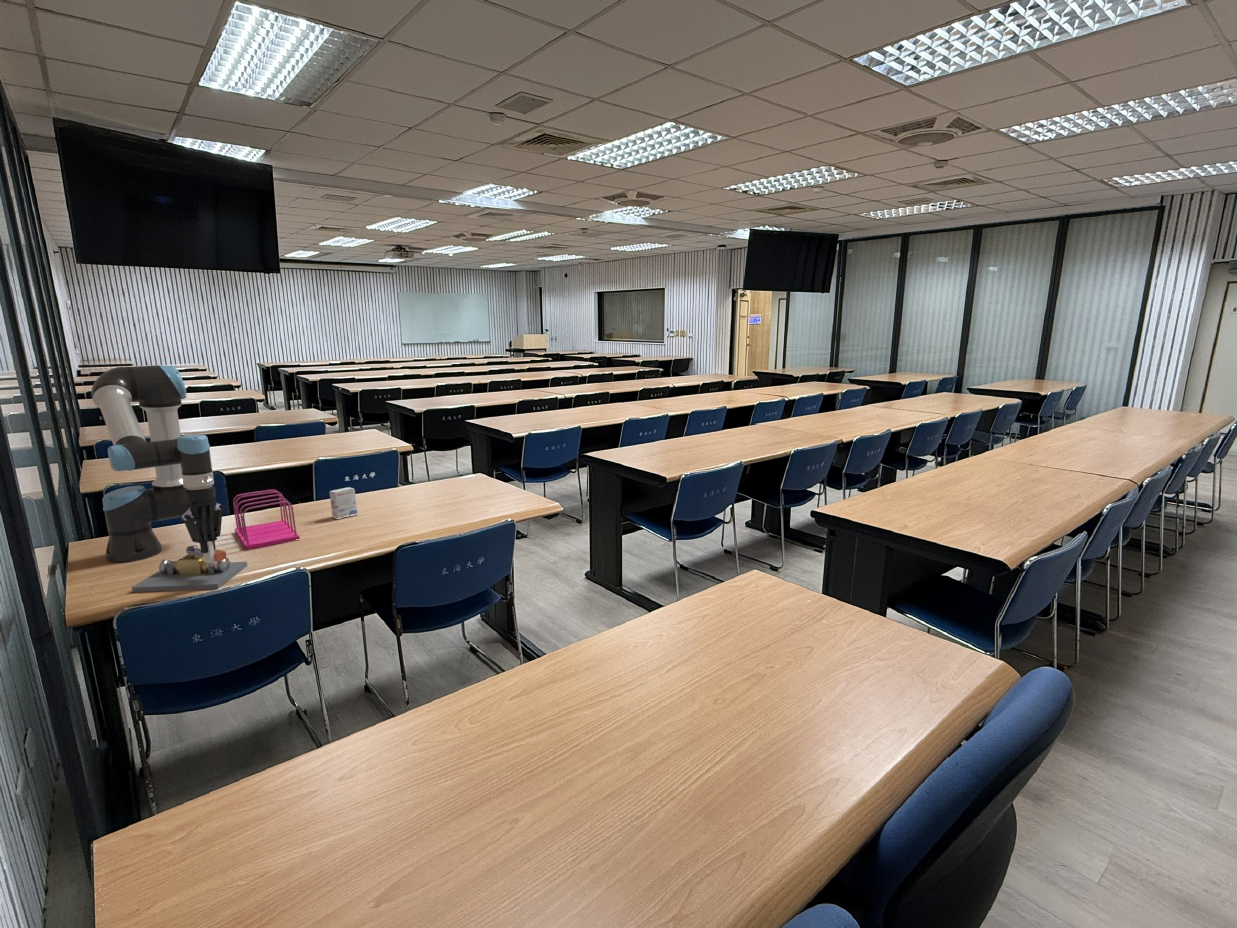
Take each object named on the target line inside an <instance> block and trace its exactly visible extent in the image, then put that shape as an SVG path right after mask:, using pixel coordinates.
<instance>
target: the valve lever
mask: <svg viewBox="0 0 1237 928" xmlns="http://www.w3.org/2000/svg"><path fill="white" fill-rule="evenodd" d="M185 551H186V552H185V553H186V554H189V556H190V557H194V556H197V555H198V556H203V557H204V554H203V553H202V552H201V548H198V545H191V546H190V545H189V546H187V547H186V549H185ZM214 555H215V561H216V562H219V561H222V560H224V559H227V558H228V557H227V552H226V551H225V550H221V549H215V550H214Z"/></svg>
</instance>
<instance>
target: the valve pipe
mask: <svg viewBox="0 0 1237 928" xmlns="http://www.w3.org/2000/svg"><path fill="white" fill-rule="evenodd" d="M230 562H231V560H230V559H229V558H228V557H227V559H224V560H222V561H219V562H213V563H207V562H205V561H204V557H203V556H198V555H197V556H194V557H190V556H189V554H188V553H186V555H184V556H183V557H181V558H179V559H178V560H173V561H172V560H170V559H162V560H161V561H160V563H159V566H158V571H160V573H161V574H167V573H168V576H169V575H175V574H176V573H177V574H180V576H182V575H201V574H203V573H208V572H209V574H215V573H216V572H217V571H220V572H225V571H226V570H228V569H229V567H230Z"/></svg>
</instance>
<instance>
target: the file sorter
mask: <svg viewBox="0 0 1237 928" xmlns="http://www.w3.org/2000/svg"><path fill="white" fill-rule="evenodd" d="M268 494H271V495H268ZM261 495H262V496H261ZM263 495H265V496H263ZM256 496H261V497H256ZM249 497H254V498H249ZM271 497H273V498H274V497H278V498H274V499H267V498H271ZM242 498H243V499H244V498H249V499H245V500H241V501H240V502H238V501H239V500H240V499H242ZM261 499H267V500H262V501H261ZM257 500H260V501H257ZM252 501H255V502H252ZM274 501H277V502H274ZM232 502H233V512H234V518H235V524H236V528H234V533H235V534H236V536H237V537H238V539H239V541H240V542H241V544H242V546H243V547H244V549H245V550H246V551H247V550H254V549H259V548H264V547H268V546H274V544H275V545H279V544H278V543H280V544H284V542H285V543H289V542H288V541H291V542H294V541H293V540H296V539H300V534H298V533H297V528H296V521H295V519H296V518H295V514H294V513H295V512H294V508H293V505H292V503H291V502H289V501H288V499H286V498H285V497H284V496H283V493H281V492H280V491H278V490H276V489H267V490H259V491H252V492H246V493H240V494H237V495H236V496H235V497H234V498H233V500H232ZM246 502H248V503H246ZM249 502H250V503H249ZM269 502H270V503H269ZM271 502H272V503H271ZM243 503H246V504H243ZM263 503H265V504H263ZM267 503H268V504H267ZM241 504H243V505H242V506H241V508H240V509H239V506H240V505H241ZM257 504H261V505H257ZM278 504H279V509H280V517H281V520H278V521H270V522H265V523H259V524H253V525H246V520H245V513H246V512H247V511H249V510H253V509H256V508H257V509H259V508H263V507H268V506H272V505H273V506H274V505H278ZM252 505H254V506H252ZM255 505H256V506H255ZM247 506H251V507H247ZM245 507H247V508H245ZM287 507H288V509H287ZM244 508H245V509H244ZM243 509H244V511H243ZM296 541H297V540H296Z"/></svg>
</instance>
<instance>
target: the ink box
mask: <svg viewBox="0 0 1237 928" xmlns="http://www.w3.org/2000/svg"><path fill="white" fill-rule="evenodd" d="M328 493H329V499H330V507H331V515H332V516H331V517H333V516H334V517H336V518H340V517H344V516H347V515H351V514H356V513H357V514H358V509H357V508H358V507H357V499H356V491H355V488H353V487H350V486H349V487H344V488H338V489H333V490H330V491H329V492H328Z"/></svg>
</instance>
